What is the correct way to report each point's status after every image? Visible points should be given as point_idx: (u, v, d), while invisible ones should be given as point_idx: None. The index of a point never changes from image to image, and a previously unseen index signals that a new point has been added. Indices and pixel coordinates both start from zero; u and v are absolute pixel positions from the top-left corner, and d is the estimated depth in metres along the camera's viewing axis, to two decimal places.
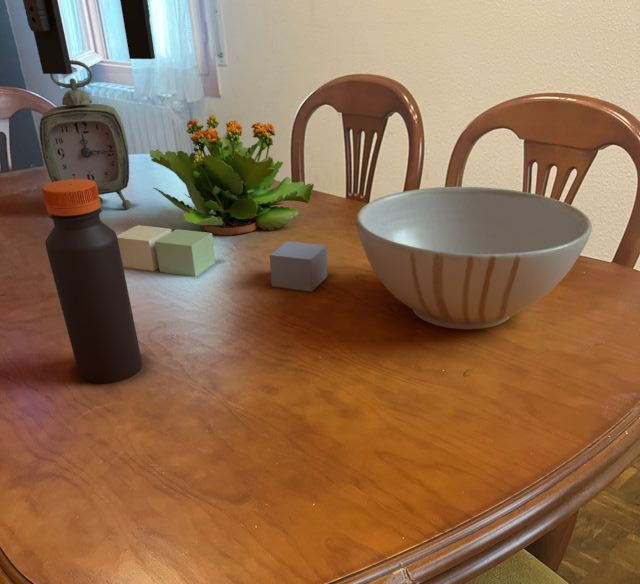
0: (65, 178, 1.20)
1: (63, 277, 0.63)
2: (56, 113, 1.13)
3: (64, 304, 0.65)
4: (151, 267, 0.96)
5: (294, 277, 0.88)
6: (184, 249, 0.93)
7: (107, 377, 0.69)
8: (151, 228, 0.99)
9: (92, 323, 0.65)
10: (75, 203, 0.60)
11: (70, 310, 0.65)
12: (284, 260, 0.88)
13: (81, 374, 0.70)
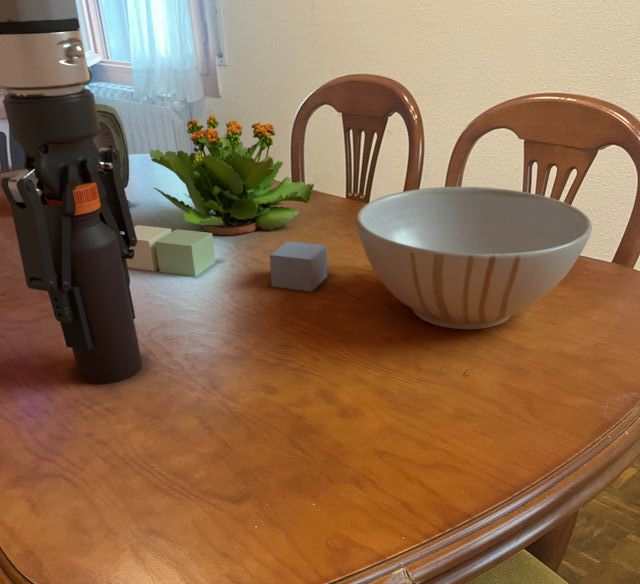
0: None
1: None
2: None
3: None
4: (151, 267, 0.96)
5: (294, 277, 0.88)
6: (184, 249, 0.93)
7: (107, 377, 0.69)
8: (151, 228, 0.99)
9: (92, 323, 0.65)
10: (75, 203, 0.60)
11: None
12: (284, 260, 0.88)
13: (81, 374, 0.70)
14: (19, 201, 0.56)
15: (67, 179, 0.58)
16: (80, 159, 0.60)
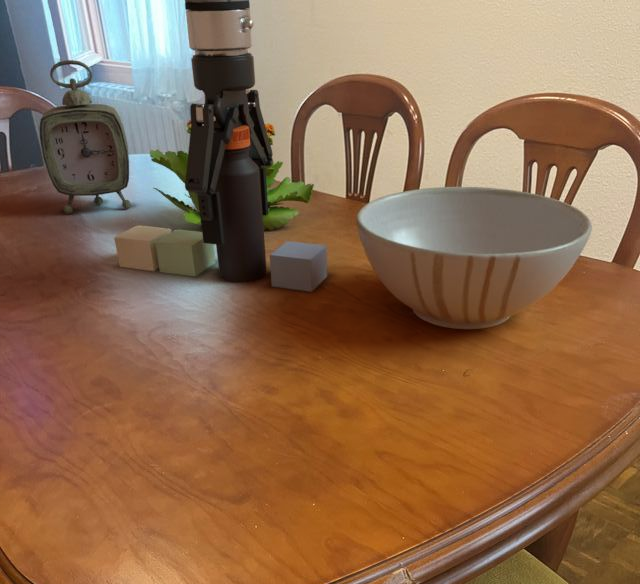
0: (65, 178, 1.20)
1: (222, 196, 0.86)
2: (56, 113, 1.13)
3: None
4: (151, 267, 0.96)
5: (294, 277, 0.88)
6: (184, 249, 0.93)
7: (245, 277, 0.92)
8: (151, 228, 0.99)
9: (239, 233, 0.88)
10: (236, 140, 0.83)
11: (223, 223, 0.88)
12: (284, 260, 0.88)
13: (224, 275, 0.92)
14: (199, 120, 0.77)
15: (232, 115, 0.81)
16: (238, 104, 0.83)
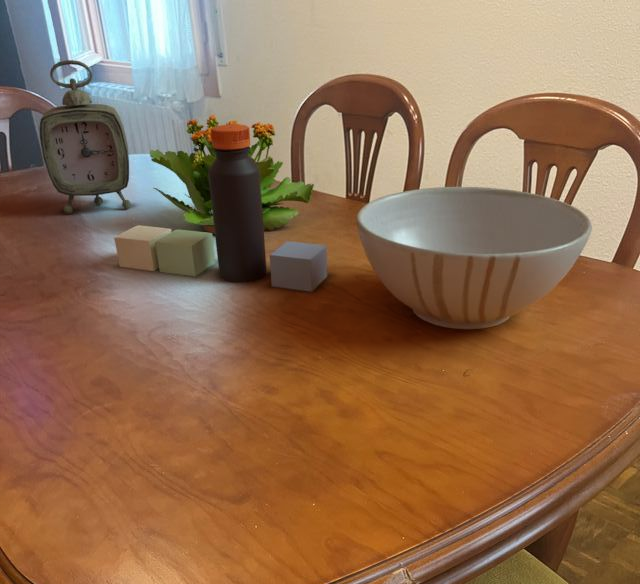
0: (65, 178, 1.20)
1: (222, 196, 0.86)
2: (56, 113, 1.13)
3: (219, 218, 0.88)
4: (151, 267, 0.96)
5: (294, 277, 0.88)
6: (184, 249, 0.93)
7: (245, 277, 0.92)
8: (151, 228, 0.99)
9: (239, 233, 0.88)
10: (236, 140, 0.83)
11: (223, 223, 0.88)
12: (284, 260, 0.88)
13: (224, 275, 0.92)
14: None
15: None
16: None
